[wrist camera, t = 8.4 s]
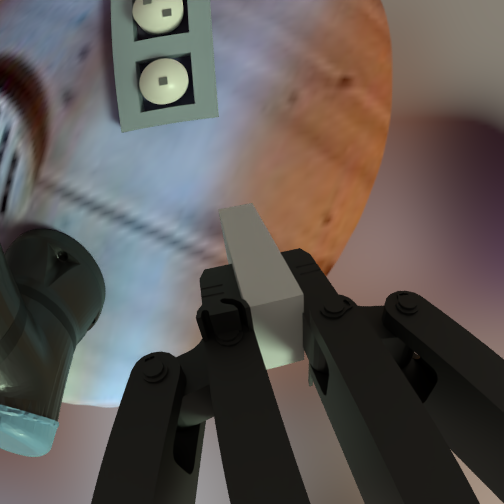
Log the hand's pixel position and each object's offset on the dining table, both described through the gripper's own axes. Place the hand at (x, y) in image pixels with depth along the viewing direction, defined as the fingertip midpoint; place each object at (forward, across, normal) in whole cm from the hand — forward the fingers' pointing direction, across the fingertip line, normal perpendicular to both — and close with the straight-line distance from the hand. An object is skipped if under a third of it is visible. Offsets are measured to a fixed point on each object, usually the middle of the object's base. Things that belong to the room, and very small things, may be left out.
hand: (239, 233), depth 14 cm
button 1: (+18, -3, +8) cm, 20 cm away
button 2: (+17, -3, +15) cm, 23 cm away
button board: (+18, -3, +15) cm, 24 cm away
